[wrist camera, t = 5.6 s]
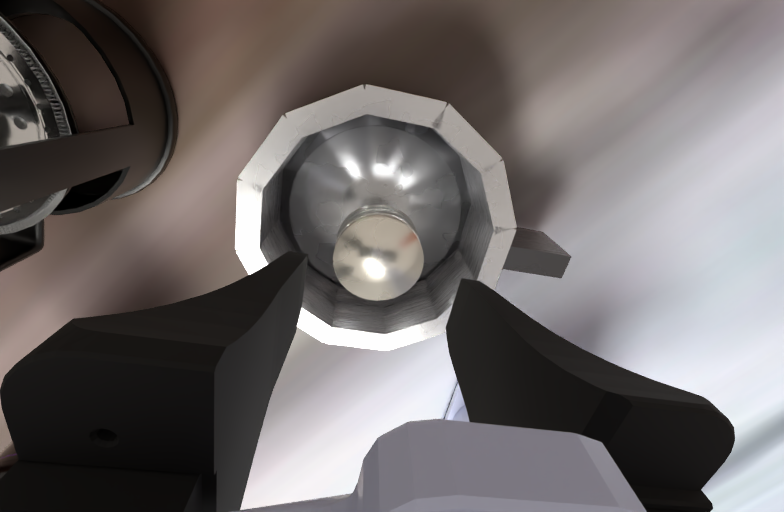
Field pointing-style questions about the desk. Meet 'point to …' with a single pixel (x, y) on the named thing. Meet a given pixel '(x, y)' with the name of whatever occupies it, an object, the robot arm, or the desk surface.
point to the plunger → (375, 209)
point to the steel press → (439, 286)
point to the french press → (74, 126)
